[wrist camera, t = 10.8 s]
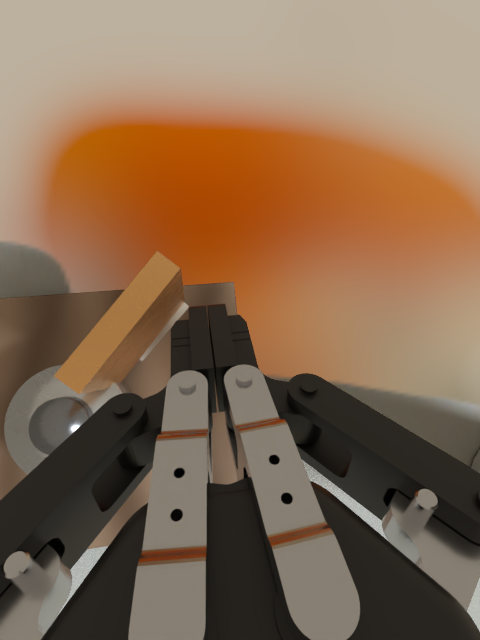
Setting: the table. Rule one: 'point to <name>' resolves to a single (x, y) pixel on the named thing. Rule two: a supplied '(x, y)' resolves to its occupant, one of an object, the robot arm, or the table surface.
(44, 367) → the base
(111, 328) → the lock handle
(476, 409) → the table surface
